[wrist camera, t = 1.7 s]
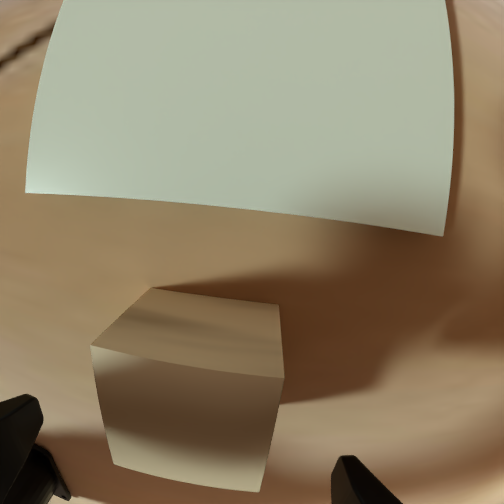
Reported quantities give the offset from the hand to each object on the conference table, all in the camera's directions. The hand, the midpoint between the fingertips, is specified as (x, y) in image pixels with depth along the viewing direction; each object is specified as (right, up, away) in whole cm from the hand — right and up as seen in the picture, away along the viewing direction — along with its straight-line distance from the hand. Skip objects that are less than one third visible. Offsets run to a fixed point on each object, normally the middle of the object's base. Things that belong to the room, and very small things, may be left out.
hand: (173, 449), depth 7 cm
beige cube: (0, +1, +5) cm, 6 cm away
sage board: (+2, +13, +3) cm, 13 cm away
